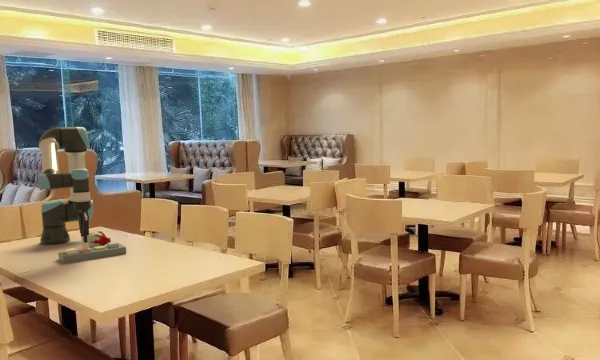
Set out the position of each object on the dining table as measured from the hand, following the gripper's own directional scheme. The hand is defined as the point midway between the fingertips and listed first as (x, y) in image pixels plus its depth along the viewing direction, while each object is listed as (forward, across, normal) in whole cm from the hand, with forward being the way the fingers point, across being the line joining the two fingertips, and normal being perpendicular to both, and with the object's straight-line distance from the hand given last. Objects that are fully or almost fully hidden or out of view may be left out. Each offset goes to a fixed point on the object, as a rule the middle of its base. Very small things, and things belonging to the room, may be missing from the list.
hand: (85, 248), depth 247 cm
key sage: (+3, 0, +6) cm, 7 cm away
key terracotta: (+3, 0, 0) cm, 3 cm away
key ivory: (+2, 0, -6) cm, 7 cm away
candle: (+5, -19, +10) cm, 22 cm away
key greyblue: (+2, 0, +13) cm, 13 cm away
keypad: (+4, 0, +3) cm, 5 cm away
